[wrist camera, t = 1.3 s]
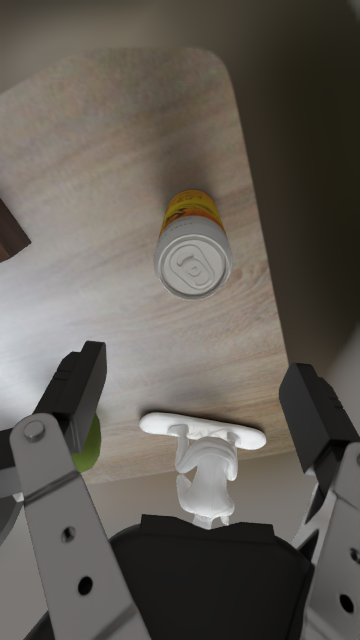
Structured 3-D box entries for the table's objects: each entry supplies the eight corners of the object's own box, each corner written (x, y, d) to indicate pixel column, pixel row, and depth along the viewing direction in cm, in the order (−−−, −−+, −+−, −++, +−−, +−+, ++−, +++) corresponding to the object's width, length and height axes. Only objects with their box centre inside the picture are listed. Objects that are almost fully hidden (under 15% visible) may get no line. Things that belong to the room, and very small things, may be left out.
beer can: (196, 176, 30) (201, 209, 18) (227, 220, 33) (250, 275, 21) (155, 212, 33) (134, 264, 20) (187, 251, 35) (187, 317, 23)
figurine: (135, 436, 59) (118, 531, 45) (145, 397, 51) (129, 496, 38) (250, 454, 61) (268, 550, 48) (275, 420, 54) (304, 520, 40)
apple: (57, 402, 53) (28, 462, 43) (95, 393, 51) (74, 453, 42) (81, 428, 58) (59, 487, 48) (117, 420, 56) (102, 480, 46)
